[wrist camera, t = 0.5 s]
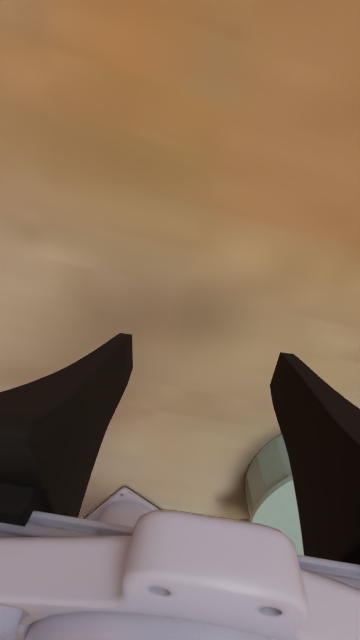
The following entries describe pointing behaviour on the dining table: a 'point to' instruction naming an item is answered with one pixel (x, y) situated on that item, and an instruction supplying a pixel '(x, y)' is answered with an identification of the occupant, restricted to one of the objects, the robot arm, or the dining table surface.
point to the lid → (280, 512)
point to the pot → (266, 471)
